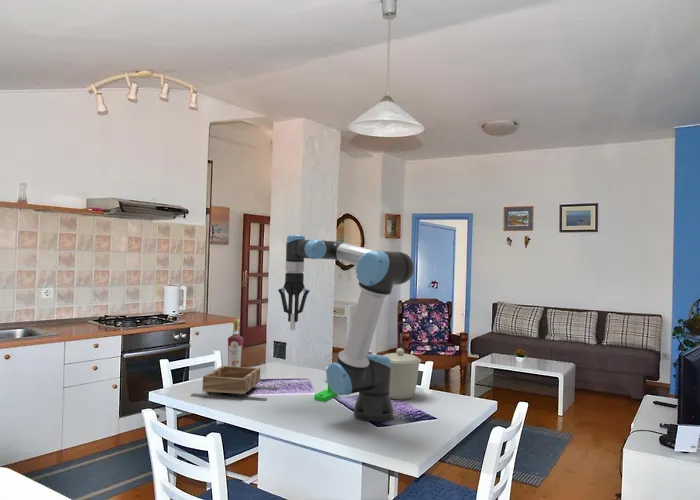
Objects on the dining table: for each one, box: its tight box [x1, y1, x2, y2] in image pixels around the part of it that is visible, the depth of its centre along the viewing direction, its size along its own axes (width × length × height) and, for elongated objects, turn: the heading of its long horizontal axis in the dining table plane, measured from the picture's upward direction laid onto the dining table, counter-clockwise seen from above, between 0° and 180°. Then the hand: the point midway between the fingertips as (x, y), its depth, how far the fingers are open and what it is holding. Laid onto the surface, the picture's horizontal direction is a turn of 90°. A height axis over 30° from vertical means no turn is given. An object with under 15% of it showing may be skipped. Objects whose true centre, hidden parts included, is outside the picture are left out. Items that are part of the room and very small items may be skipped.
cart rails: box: [190, 385, 279, 402], centre depth 225 cm, size 20×32×1 cm, turn 84°
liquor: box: [227, 318, 244, 367], centre depth 252 cm, size 7×7×28 cm
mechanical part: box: [313, 384, 338, 403], centre depth 221 cm, size 12×6×8 cm, turn 155°
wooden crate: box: [202, 365, 261, 397], centre depth 225 cm, size 22×18×8 cm
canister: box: [382, 347, 422, 401], centre depth 226 cm, size 18×18×21 cm
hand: (292, 329), depth 214 cm, fingers closed
